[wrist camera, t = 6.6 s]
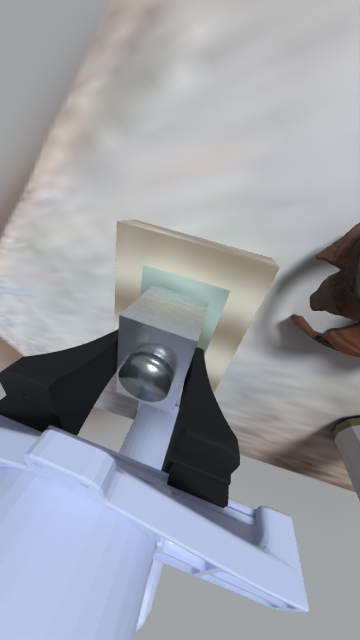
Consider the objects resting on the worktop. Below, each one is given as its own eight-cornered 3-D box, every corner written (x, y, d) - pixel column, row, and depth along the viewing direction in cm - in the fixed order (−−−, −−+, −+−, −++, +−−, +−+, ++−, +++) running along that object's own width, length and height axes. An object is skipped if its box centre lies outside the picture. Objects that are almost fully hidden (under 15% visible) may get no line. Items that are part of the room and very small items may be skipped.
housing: (187, 365, 18) (168, 427, 12) (143, 350, 18) (108, 403, 13) (209, 302, 14) (194, 354, 9) (153, 284, 14) (108, 324, 9)
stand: (216, 372, 22) (214, 394, 20) (126, 340, 24) (112, 357, 21) (271, 258, 15) (280, 268, 12) (135, 220, 16) (114, 221, 13)
